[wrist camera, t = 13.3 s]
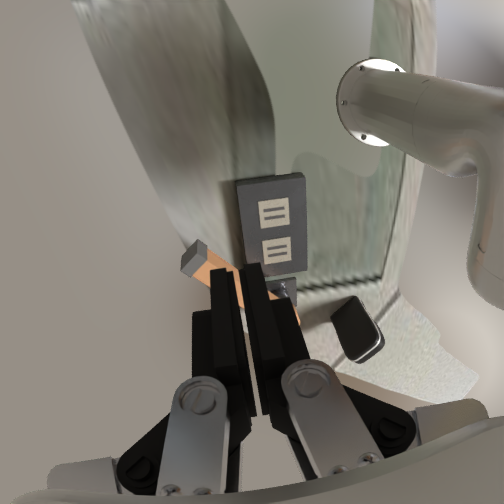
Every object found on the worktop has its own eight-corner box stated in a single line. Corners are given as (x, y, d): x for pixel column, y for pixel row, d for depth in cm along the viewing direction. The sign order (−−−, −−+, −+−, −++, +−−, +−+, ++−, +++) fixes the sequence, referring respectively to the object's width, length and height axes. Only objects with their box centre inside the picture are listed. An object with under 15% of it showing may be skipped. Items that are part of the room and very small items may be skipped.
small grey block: (295, 277, 52) (301, 292, 48) (295, 304, 55) (301, 320, 52) (258, 283, 52) (262, 299, 48) (261, 310, 55) (265, 326, 51)
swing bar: (199, 237, 41) (198, 251, 38) (300, 308, 50) (305, 323, 47) (180, 257, 42) (178, 272, 40) (282, 323, 51) (286, 338, 49)
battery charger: (339, 324, 60) (359, 370, 50) (328, 317, 58) (347, 363, 49) (366, 302, 58) (391, 345, 48) (356, 293, 56) (381, 338, 46)
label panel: (301, 172, 42) (306, 178, 40) (304, 263, 51) (307, 271, 49) (235, 181, 42) (236, 187, 40) (247, 272, 50) (249, 281, 48)
